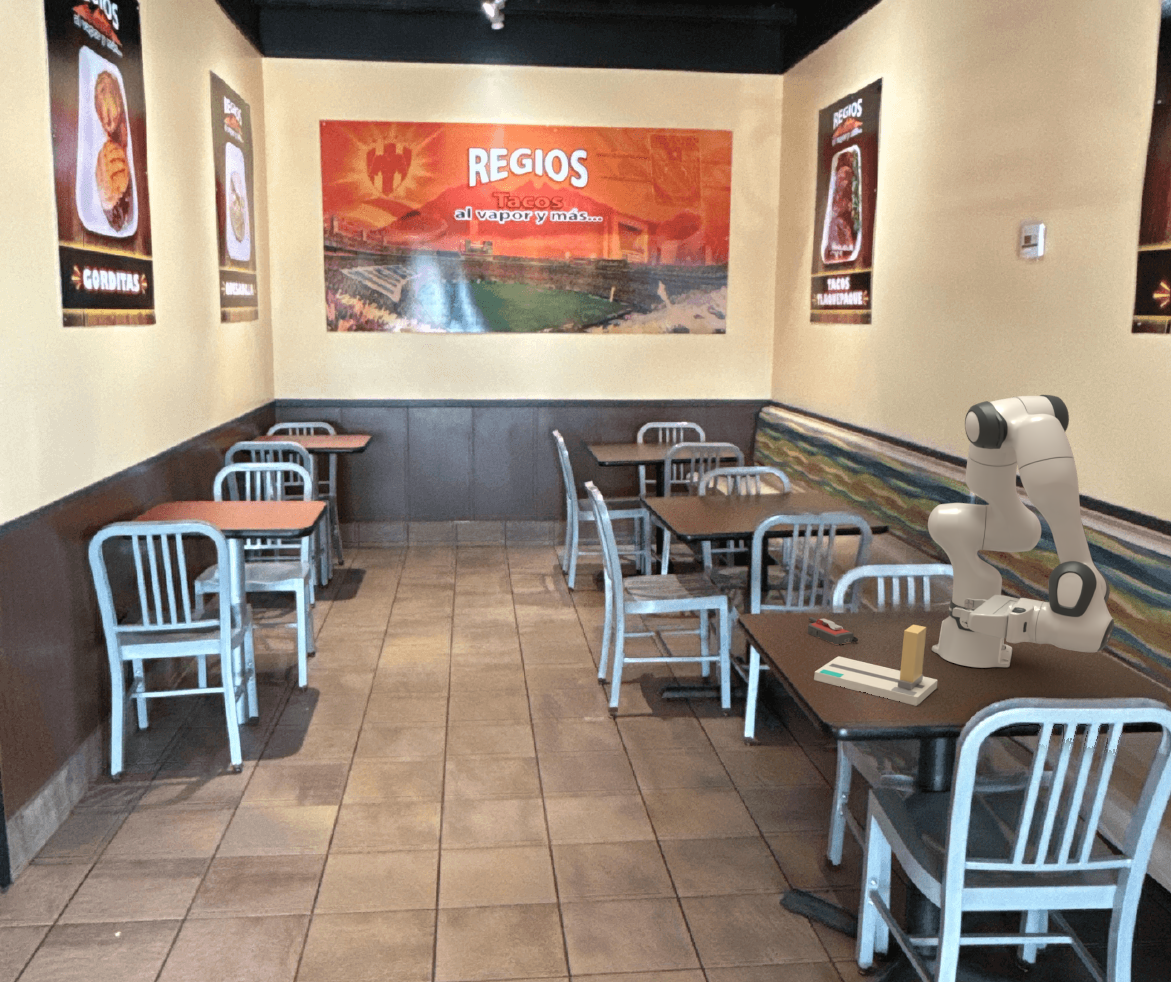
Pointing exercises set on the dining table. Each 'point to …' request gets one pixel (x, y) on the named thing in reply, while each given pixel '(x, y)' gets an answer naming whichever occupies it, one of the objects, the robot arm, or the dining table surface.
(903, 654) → the slider tab
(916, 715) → the dining table surface
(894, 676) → the switch track
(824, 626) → the red toggle switch
